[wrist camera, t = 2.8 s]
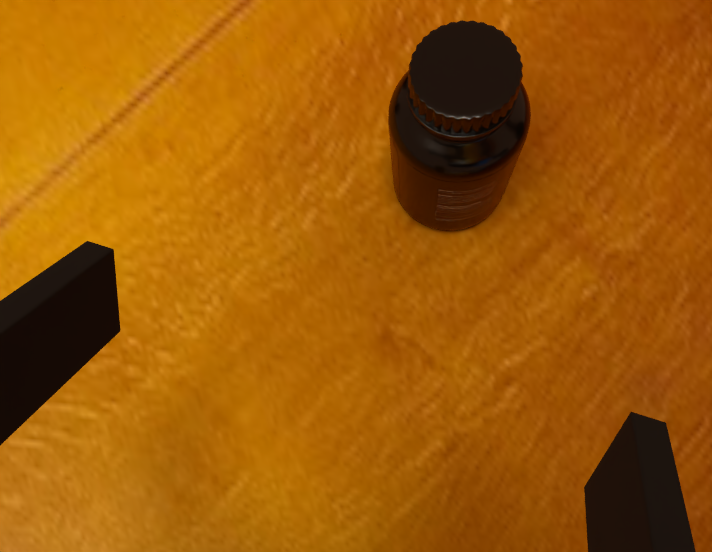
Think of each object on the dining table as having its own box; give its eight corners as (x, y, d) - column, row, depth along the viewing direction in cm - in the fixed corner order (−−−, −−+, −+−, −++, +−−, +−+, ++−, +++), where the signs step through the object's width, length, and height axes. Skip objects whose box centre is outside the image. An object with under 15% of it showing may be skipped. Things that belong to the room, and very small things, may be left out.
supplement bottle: (520, 152, 36) (575, 27, 24) (479, 250, 35) (516, 169, 23) (417, 115, 37) (422, -21, 25) (374, 209, 36) (359, 112, 24)
